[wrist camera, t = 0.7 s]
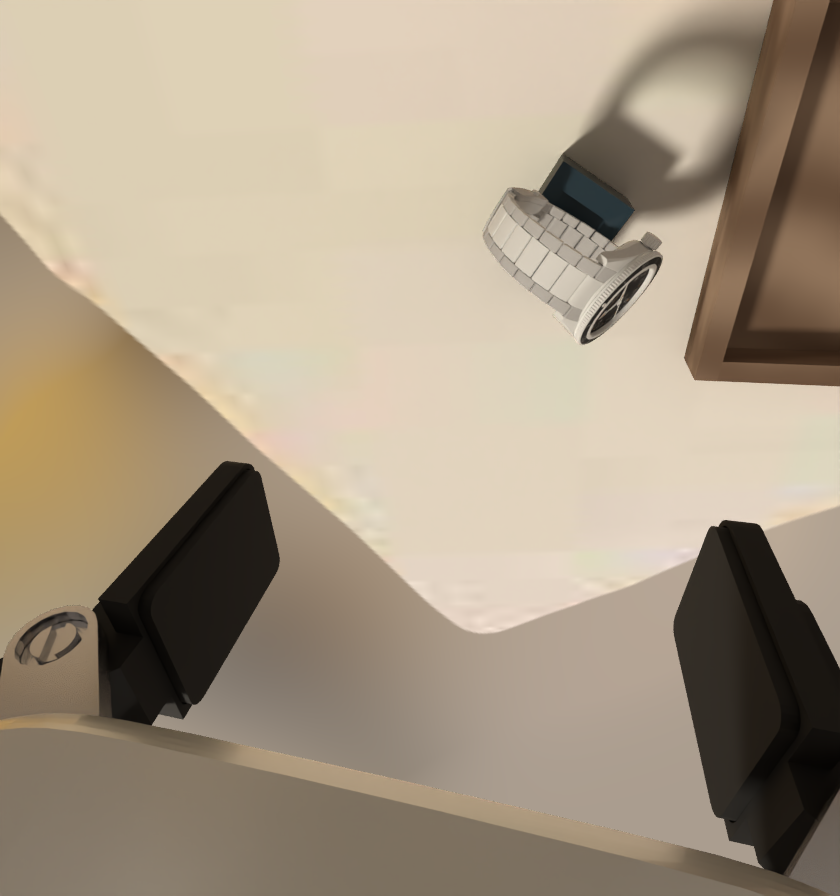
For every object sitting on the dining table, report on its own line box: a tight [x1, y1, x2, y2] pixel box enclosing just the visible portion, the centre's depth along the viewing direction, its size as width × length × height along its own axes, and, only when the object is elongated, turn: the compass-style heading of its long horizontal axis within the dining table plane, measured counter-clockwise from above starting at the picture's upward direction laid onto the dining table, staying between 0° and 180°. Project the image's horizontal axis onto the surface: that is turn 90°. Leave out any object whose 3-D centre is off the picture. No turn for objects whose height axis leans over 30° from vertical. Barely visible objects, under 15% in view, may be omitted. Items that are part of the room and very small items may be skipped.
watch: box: [483, 154, 663, 345], centre depth 25 cm, size 6×8×11 cm
